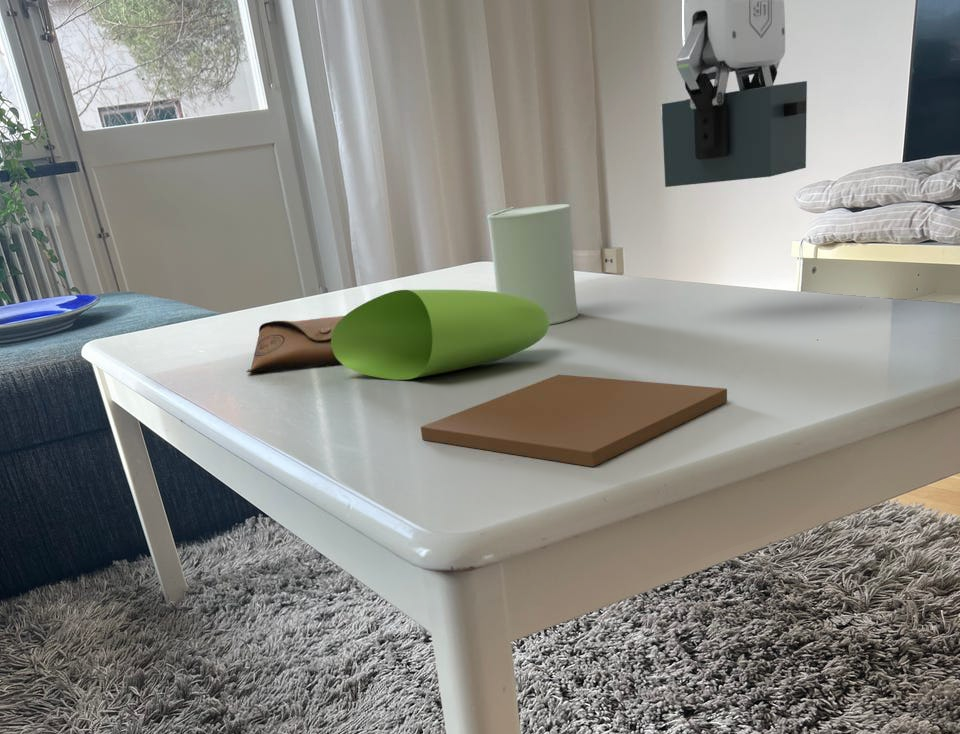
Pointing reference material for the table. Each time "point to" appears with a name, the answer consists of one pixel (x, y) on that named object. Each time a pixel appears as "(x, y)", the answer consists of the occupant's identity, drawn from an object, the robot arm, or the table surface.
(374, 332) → the green curved sheet
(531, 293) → the can
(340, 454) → the table surface
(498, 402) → the mat
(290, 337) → the sunglasses case
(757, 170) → the toaster
